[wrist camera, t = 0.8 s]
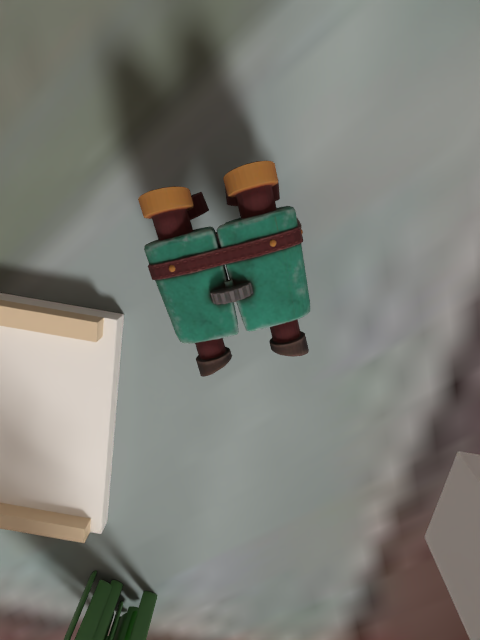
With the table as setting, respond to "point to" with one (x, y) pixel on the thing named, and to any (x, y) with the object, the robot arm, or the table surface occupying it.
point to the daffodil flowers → (111, 614)
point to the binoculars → (230, 265)
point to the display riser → (57, 416)
